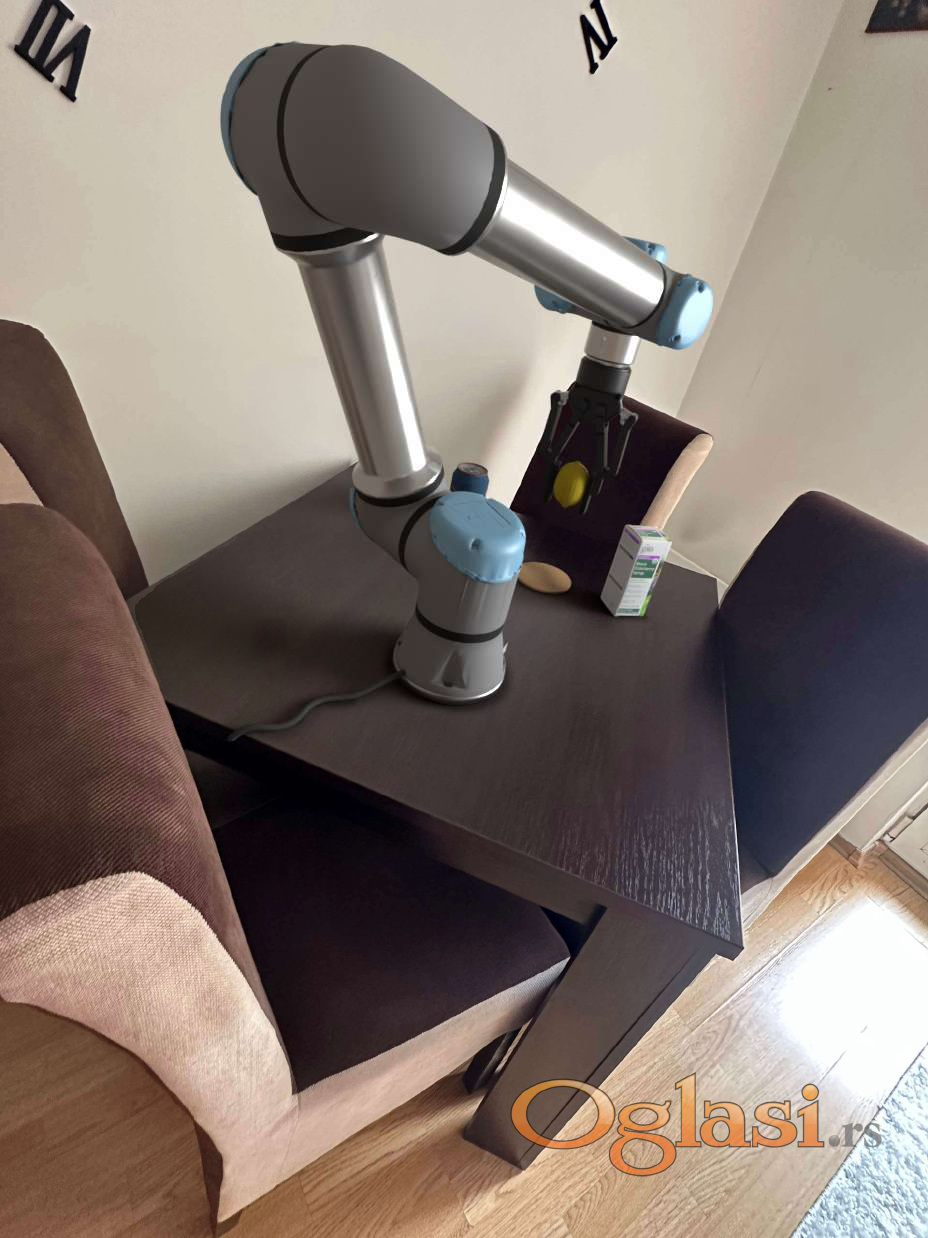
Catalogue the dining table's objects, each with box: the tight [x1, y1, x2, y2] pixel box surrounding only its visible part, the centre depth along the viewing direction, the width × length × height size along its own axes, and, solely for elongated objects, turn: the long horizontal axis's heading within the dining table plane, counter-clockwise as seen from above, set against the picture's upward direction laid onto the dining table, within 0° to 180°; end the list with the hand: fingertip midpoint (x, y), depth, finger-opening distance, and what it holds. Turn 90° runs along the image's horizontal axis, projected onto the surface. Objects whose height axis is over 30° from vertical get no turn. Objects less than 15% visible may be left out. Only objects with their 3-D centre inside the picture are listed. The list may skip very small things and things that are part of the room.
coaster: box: [517, 561, 572, 595], centre depth 115 cm, size 10×10×1 cm
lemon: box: [553, 460, 590, 509], centre depth 105 cm, size 6×6×8 cm
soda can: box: [449, 461, 490, 498], centre depth 122 cm, size 7×7×12 cm
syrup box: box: [600, 524, 673, 617], centre depth 107 cm, size 6×6×14 cm
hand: (564, 505), depth 107 cm, fingers closed on lemon, 6 cm apart
